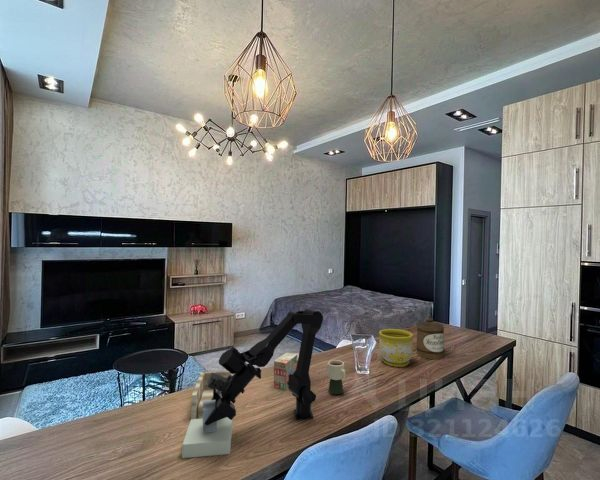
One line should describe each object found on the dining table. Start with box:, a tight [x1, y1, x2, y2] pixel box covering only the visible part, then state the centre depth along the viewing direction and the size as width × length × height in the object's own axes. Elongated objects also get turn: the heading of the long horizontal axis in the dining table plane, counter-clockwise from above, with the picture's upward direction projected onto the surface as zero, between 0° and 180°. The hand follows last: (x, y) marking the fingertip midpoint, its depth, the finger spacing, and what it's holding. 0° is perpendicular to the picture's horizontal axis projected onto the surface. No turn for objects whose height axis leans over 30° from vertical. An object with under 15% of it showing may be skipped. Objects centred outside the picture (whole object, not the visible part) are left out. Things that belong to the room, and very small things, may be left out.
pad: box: [181, 417, 234, 459], centre depth 103 cm, size 14×14×4 cm
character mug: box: [326, 359, 346, 395], centre depth 138 cm, size 11×7×13 cm, turn 38°
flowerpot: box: [378, 328, 414, 368], centre depth 174 cm, size 18×18×16 cm
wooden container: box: [416, 317, 445, 360], centre depth 187 cm, size 15×15×22 cm
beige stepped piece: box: [190, 369, 232, 420], centre depth 127 cm, size 22×13×9 cm, turn 9°
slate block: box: [202, 400, 217, 433], centre depth 103 cm, size 6×4×7 cm, turn 19°
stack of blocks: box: [273, 352, 299, 391], centre depth 151 cm, size 21×6×12 cm, turn 156°
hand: (205, 419), depth 103 cm, fingers closed on slate block, 6 cm apart
